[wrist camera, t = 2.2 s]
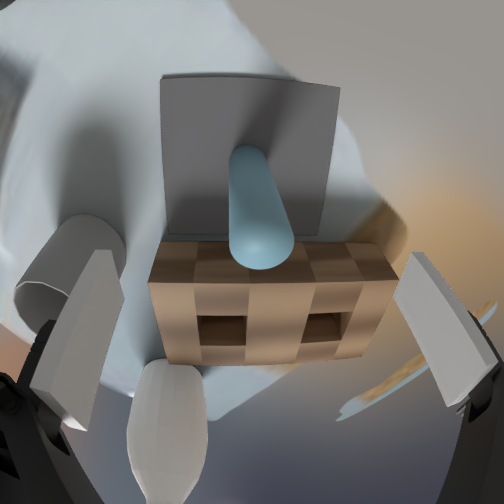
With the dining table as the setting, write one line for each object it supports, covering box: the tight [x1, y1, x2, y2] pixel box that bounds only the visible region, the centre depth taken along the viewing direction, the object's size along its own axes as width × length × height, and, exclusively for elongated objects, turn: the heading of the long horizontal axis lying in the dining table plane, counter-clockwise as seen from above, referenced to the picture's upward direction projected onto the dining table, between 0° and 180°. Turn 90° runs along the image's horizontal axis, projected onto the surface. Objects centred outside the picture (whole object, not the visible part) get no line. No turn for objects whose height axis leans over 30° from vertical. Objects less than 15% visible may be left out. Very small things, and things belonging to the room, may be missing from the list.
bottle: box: [127, 358, 208, 504], centre depth 31 cm, size 11×11×25 cm
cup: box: [13, 214, 126, 335], centre depth 23 cm, size 8×8×10 cm
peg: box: [229, 144, 294, 270], centre depth 18 cm, size 3×3×12 cm
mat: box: [160, 77, 340, 235], centre depth 23 cm, size 14×14×1 cm
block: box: [148, 241, 399, 366], centre depth 29 cm, size 12×22×6 cm, turn 87°
